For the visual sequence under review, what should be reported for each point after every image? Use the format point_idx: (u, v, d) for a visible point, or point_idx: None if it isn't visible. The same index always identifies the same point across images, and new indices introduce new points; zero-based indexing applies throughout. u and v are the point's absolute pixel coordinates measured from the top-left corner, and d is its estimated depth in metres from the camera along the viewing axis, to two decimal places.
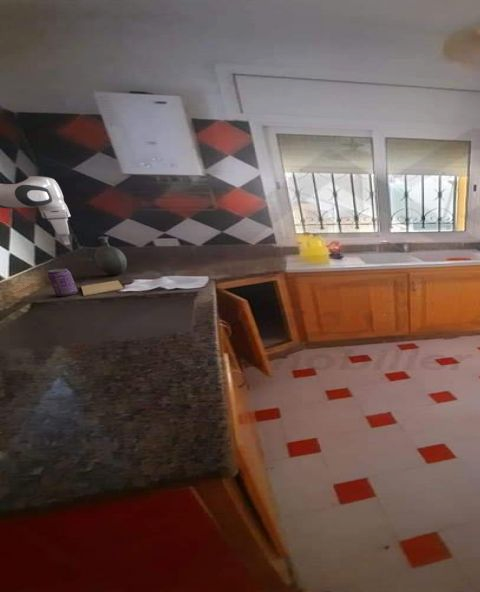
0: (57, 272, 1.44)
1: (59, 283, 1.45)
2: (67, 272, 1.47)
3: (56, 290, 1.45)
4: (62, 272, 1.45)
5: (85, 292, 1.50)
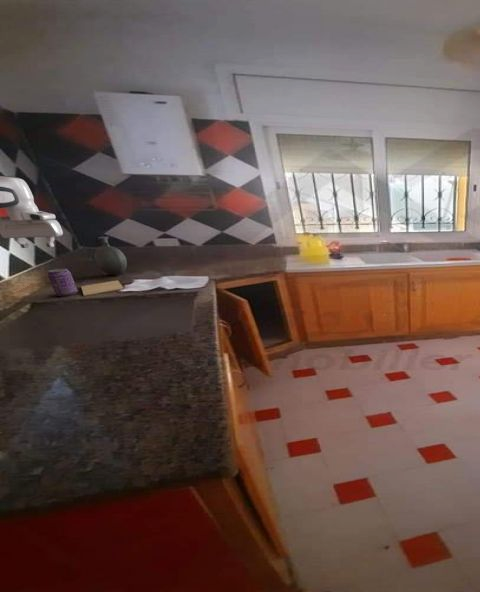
0: (57, 272, 1.44)
1: (59, 283, 1.45)
2: (67, 272, 1.47)
3: (56, 290, 1.45)
4: (62, 272, 1.45)
5: (85, 292, 1.50)
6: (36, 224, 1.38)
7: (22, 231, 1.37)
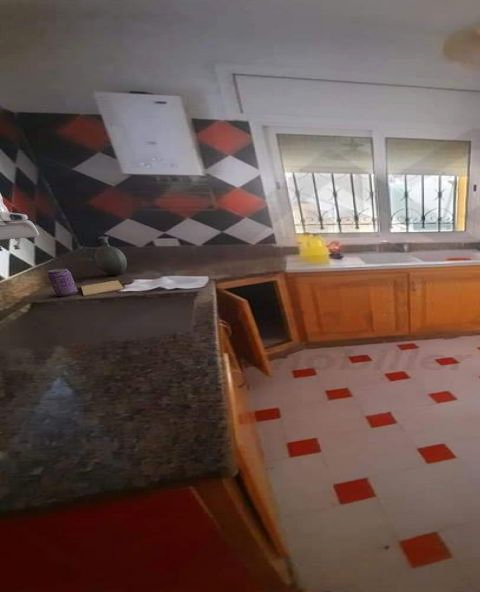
0: (57, 272, 1.44)
1: (59, 283, 1.45)
2: (67, 272, 1.47)
3: (56, 290, 1.45)
4: (62, 272, 1.45)
5: (85, 292, 1.50)
6: (12, 225, 1.33)
7: None
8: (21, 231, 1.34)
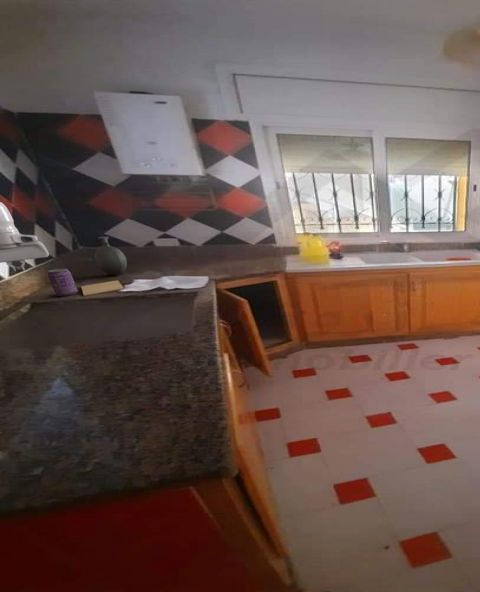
0: (57, 272, 1.44)
1: (59, 283, 1.45)
2: (67, 272, 1.47)
3: (56, 290, 1.45)
4: (62, 272, 1.45)
5: (85, 292, 1.50)
6: (23, 247, 1.36)
7: (5, 255, 1.33)
8: (32, 252, 1.38)
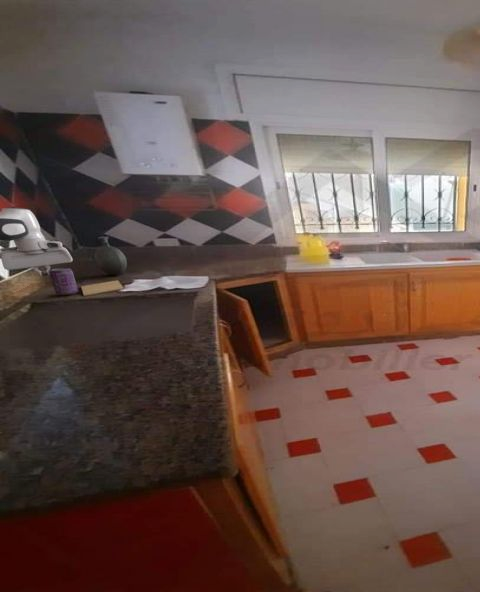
0: (60, 271, 1.44)
1: (60, 282, 1.45)
2: (70, 272, 1.47)
3: (56, 289, 1.45)
4: (65, 271, 1.46)
5: (85, 292, 1.50)
6: (49, 253, 1.42)
7: (32, 261, 1.38)
8: (57, 257, 1.44)
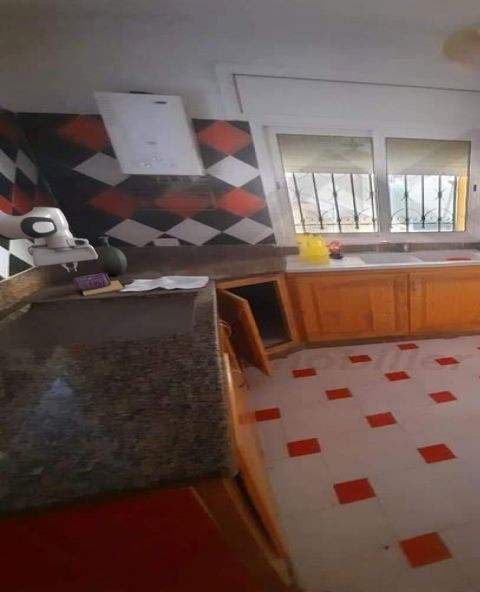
0: (108, 279, 1.57)
1: (93, 280, 1.53)
2: (107, 285, 1.58)
3: (82, 278, 1.51)
4: (108, 282, 1.57)
5: (85, 292, 1.50)
6: (76, 250, 1.48)
7: (60, 257, 1.44)
8: (83, 254, 1.50)
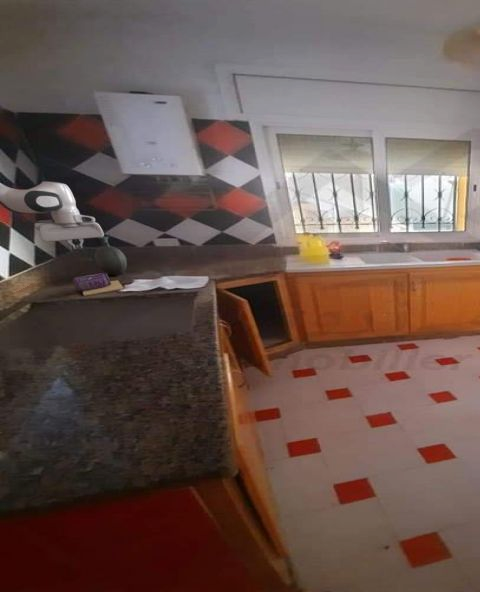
0: (108, 279, 1.57)
1: (93, 280, 1.53)
2: (107, 285, 1.58)
3: (82, 278, 1.51)
4: (108, 282, 1.57)
5: (85, 292, 1.50)
6: (83, 226, 1.48)
7: (67, 233, 1.44)
8: (90, 232, 1.50)
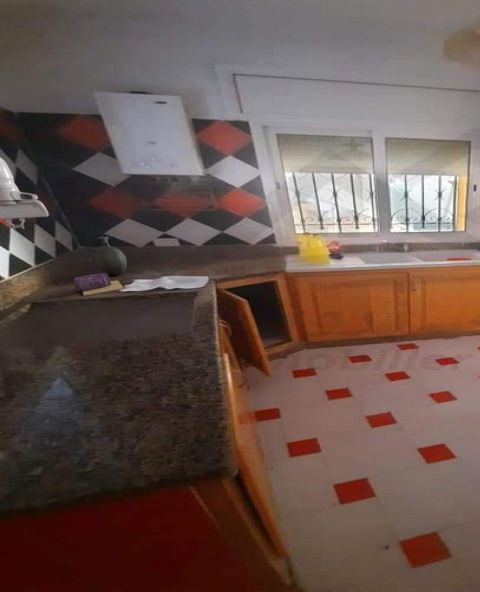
0: (108, 279, 1.57)
1: (93, 280, 1.53)
2: (107, 285, 1.58)
3: (82, 278, 1.51)
4: (108, 282, 1.57)
5: (85, 292, 1.50)
6: (23, 205, 1.35)
7: (4, 212, 1.32)
8: (31, 211, 1.37)
